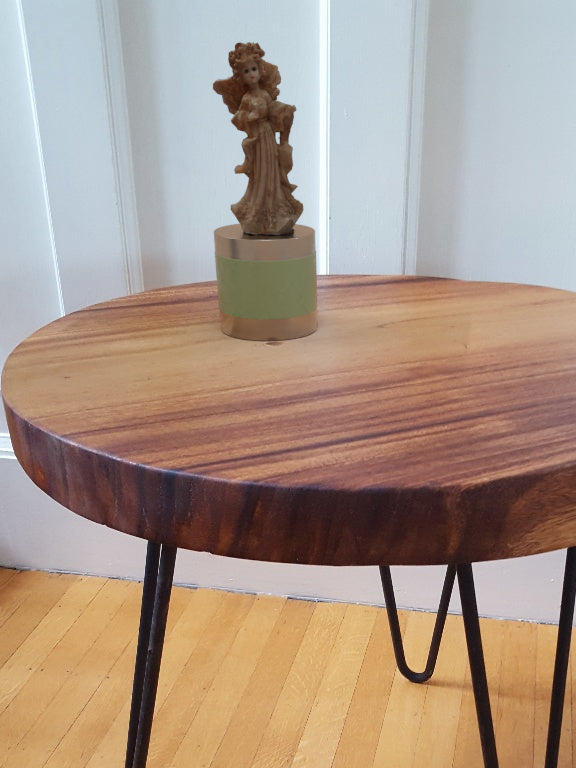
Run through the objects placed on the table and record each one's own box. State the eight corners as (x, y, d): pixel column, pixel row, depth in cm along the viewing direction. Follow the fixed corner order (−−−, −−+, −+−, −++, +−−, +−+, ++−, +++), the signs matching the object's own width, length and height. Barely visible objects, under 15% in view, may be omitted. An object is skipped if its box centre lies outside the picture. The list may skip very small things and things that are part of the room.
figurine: (229, 237, 88) (215, 41, 79) (222, 226, 92) (209, 41, 84) (308, 234, 89) (303, 42, 81) (298, 224, 94) (292, 41, 86)
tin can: (209, 338, 92) (201, 238, 87) (233, 314, 100) (227, 220, 95) (308, 343, 91) (305, 241, 86) (324, 317, 99) (323, 223, 94)
